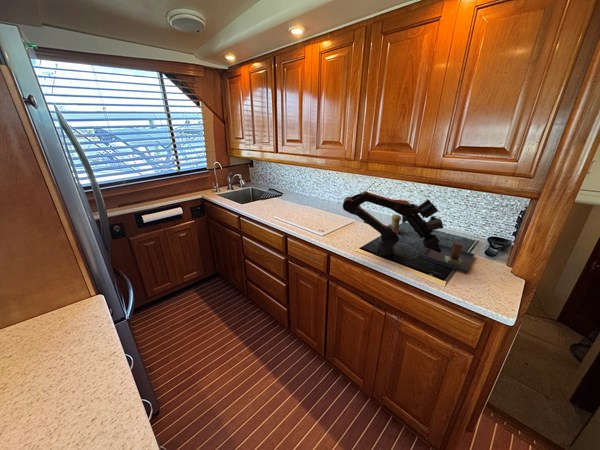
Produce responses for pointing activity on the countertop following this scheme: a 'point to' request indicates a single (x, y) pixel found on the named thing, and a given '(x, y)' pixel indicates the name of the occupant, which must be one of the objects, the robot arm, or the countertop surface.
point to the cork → (396, 222)
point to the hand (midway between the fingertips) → (437, 247)
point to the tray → (446, 250)
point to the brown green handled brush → (455, 254)
